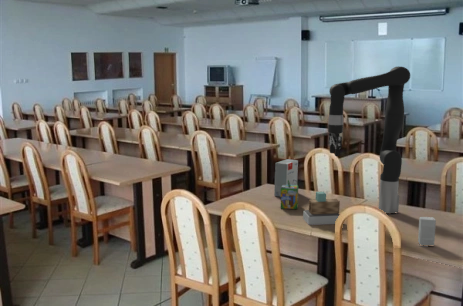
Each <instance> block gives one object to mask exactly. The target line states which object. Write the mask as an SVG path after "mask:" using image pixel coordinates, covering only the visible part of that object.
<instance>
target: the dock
mask: <svg viewBox="0 0 463 306" xmlns="http://www.w3.org/2000/svg"><path fill="white" fill-rule="evenodd" d="M339 215H341V214H340V213H333V214H311V213H310V212H309V209H304V210H303V212H302V219H303V220H304V222H305V223H307V225H308V226H314V225H315V226H316V225H336V224H335V221H336V219H337V218H338V216H339Z"/></svg>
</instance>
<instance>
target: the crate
mask: <svg viewBox="0 0 463 306" xmlns="http://www.w3.org/2000/svg"><path fill="white" fill-rule="evenodd" d="M315 199H316V201H318V202H326V199H327V193H326V192H325V191H315Z"/></svg>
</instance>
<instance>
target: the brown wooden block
mask: <svg viewBox="0 0 463 306" xmlns="http://www.w3.org/2000/svg"><path fill="white" fill-rule="evenodd" d="M340 205H341V202H340V200H339V199H338V198H326V202H318V201H316V198H315V199H309V200H308V210H309V212H310V213H311V214H333V213H338V214H340V208H341V207H340Z"/></svg>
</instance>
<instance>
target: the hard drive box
mask: <svg viewBox="0 0 463 306" xmlns="http://www.w3.org/2000/svg"><path fill="white" fill-rule="evenodd" d="M298 165H299V160H296V159H288V158H287V159H283V160H281V161H278V162H275V166H274V168H275V169H274V170H275V171H274V191H273V195H274V196H275V197H280V198H281V187H282V185H288V180H289V183H290V185H298V174H299V173H298V170H299V167H298Z"/></svg>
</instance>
